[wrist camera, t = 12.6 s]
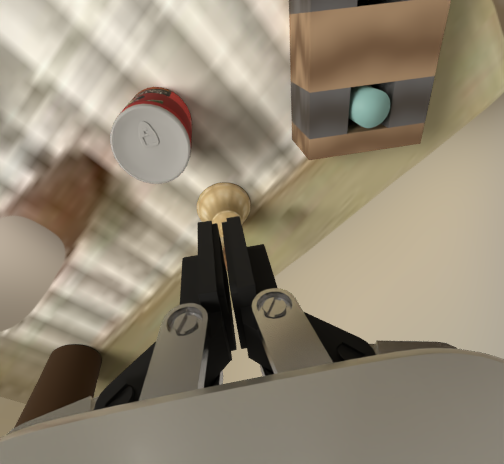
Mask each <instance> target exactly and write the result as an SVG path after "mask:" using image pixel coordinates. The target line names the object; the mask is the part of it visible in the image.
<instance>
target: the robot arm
mask: <svg viewBox="0 0 504 464" xmlns="http://www.w3.org/2000/svg"><path fill="white" fill-rule="evenodd" d="M226 220H227V222H222V230H223V238H224V246H225V254H226V262H227V270H228V277H229V284H228V277H227V271H226V266H225V261H224V255H223V250H222V245H221V240H220V234H219V229H218V224H217V223H215V224H212V221H205V222H198V255H196V256H190V257H184V258H183V261H182V277H181V294H180V305H179V306H177V307H175V308H173V309H172V310H170V311H169V312H168V313H167V314H166V316H165V317H164V319H163V321H162V324H161V327H160V331H159V334H158V337H157V341H156V342H155V343H154V344H153V345H151V346H150V347H149V348H148V349H147V350H146V351H145V352H144V353H143V354H142V355H141V356H140V357H138V358H137V359H136V360H135V361H134V362H133V363H132V364H131V365H130V366H129V367H128V368H126V369H125V370H124V371H123V372H122V373H121V374H120V375H119V376H118V377H117V378H116V379H115V380H113V381H112V382H111V383H110V384H109V385H108V386H107V387H106V388H105V389H104V390H103V392H102V393H101V394H100V396H99V397H96V398H94V399H93V398H92V397H91V396H89V397H87V398H84V399H82V400H79V401H77V402H74V403H72V404H69V405H67V406H65V407H62V408H60V409H57V410H55V411H52V412H50V413H47V414H45V415H42V416H40V417H37V418H35V419H32V420H30V421H28V422H25V423H23V424H21V425H19V426H17V427H15V428H14V429H12V430H11V431H10V432H9V433H8V434H6V435H5V436H2V437H0V464H504V359H502V358H499V357H496V356H492V355H489V354H485V353H481V352H475V351H469V350H462V349H457V348H456V347H454V346H451V345H449V344H447V343H441V342H419V341H376V344H368V343H367V342H366V341H364V340H362V339H361V338H359V337H357V336H355V335H353V334H350V333H348V332H346V331H344V330H342V329H340V328H338V327H335V326H333V325H331V324H329V323H326V322H325V321H322V320H320V319H318V318H316V317H314V316H312V315H309V314H307V313H305V312H303V310H302V309H301V307H300V305H299V303H298V302H297V300H296V298H295V297H294V296H293V295H292V294H291V293H290V292H288V291H287V290H283V289H279V288H277V285H276V282H275V278H274V275H273V272H272V269H271V265H270V262H269V259H268V256H267V252H266V249H265V246H264V244H262V245H256V246H250V247H246V242H245V238H244V233H243V229H242V225H241V220H240V216H236V217H230V218H226ZM229 285H230V291H231V297H232V302H233V308H234V312H235V318H236V323H237V329H238V334H239V339H240V345H241V349H244V348H247V350H248V356H249V358H250V359H252V360H254V361H255V362H257V363H259V364H260V368H261V372H262V374H263V377H258V378H252V379H247V380H242V381H237V382H232V383H227V384H223V371H222V370H223V369H224V368H225V367H226V365H227V364H228V363H229V362H230V361H231V360H232V356H231V351H233V350H236V341H235V333H234V325H233V317H232V308H231V300H230V292H229Z"/></svg>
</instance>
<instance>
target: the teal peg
mask: <svg viewBox="0 0 504 464" xmlns="http://www.w3.org/2000/svg"><path fill="white" fill-rule="evenodd" d="M389 110H390V99H389V97H388V95H387V94H386V93H385V92H383V91H381V90H378V89H375V88H373V87H370V86H367V85H364V86H356V87H351V91H350V104H349V117H348V118H349V119H351V120H352V121H354V122H355V123H357V124H359V125H360V126H362V127H364V128H373V127H376V126H378V125H379V124H380V123H382V122H383V121H384V120H385V118H386V117H387V115H388V113H389Z"/></svg>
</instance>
